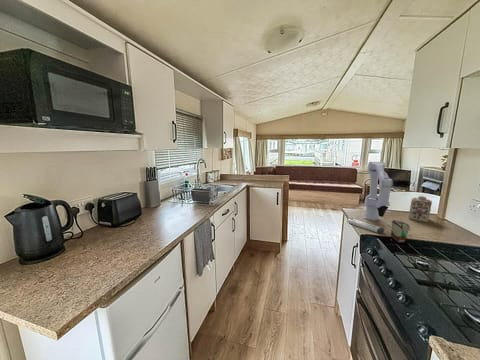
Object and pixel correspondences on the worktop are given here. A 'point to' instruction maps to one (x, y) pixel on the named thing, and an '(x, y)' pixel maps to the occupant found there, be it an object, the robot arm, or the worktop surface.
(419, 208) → the decorative jar
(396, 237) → the food container
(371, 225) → the hinged tong arm
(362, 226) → the fixed tong arm
